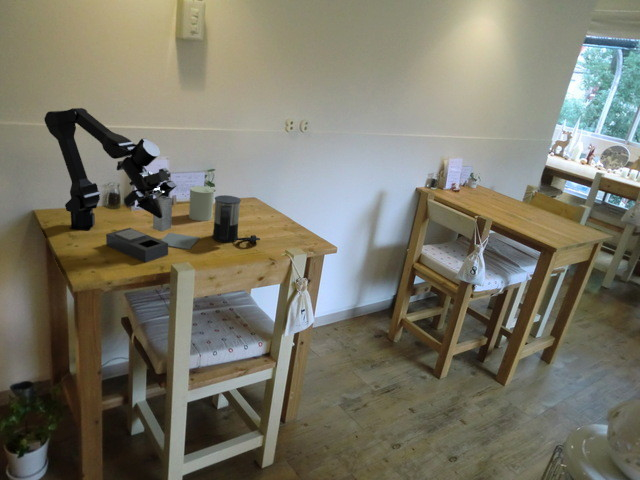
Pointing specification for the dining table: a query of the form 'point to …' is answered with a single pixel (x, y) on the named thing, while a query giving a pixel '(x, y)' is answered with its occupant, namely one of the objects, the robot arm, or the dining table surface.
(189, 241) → the mat
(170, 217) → the grey rectangular block
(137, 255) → the dark grey socket base
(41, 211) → the dining table surface
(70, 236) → the dining table surface
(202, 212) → the can
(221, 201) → the milk frother
